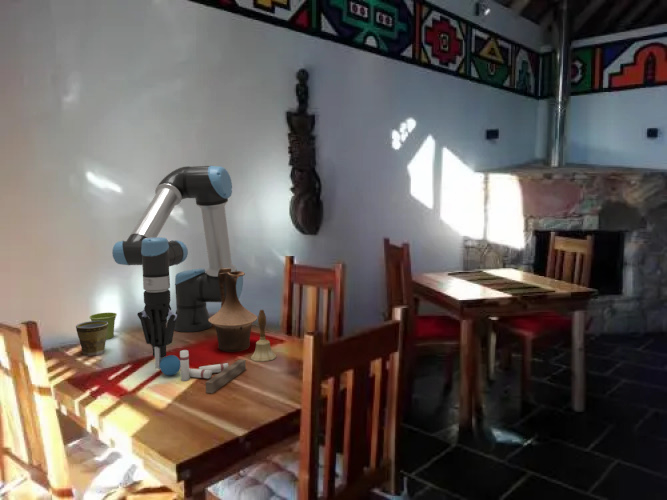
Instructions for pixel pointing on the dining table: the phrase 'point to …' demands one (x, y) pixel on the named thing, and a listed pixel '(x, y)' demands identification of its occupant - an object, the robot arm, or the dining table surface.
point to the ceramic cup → (92, 337)
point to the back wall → (225, 376)
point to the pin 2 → (215, 367)
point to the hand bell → (262, 343)
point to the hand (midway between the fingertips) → (160, 366)
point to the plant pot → (108, 318)
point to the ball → (170, 365)
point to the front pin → (200, 373)
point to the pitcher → (232, 315)
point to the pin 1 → (184, 365)
